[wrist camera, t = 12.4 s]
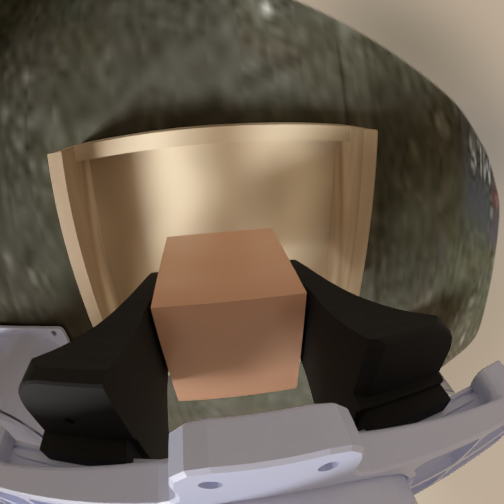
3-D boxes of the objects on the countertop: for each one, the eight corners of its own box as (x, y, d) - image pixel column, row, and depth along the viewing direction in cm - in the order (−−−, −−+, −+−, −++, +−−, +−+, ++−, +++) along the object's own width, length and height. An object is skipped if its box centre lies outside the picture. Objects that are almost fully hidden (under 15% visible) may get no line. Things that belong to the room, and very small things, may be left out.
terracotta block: (181, 319, 15) (178, 400, 10) (167, 236, 13) (150, 307, 8) (271, 311, 15) (296, 387, 11) (271, 227, 13) (306, 292, 9)
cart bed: (117, 311, 20) (104, 354, 16) (81, 142, 15) (47, 154, 11) (328, 291, 22) (352, 329, 18) (340, 124, 17) (377, 130, 13)
